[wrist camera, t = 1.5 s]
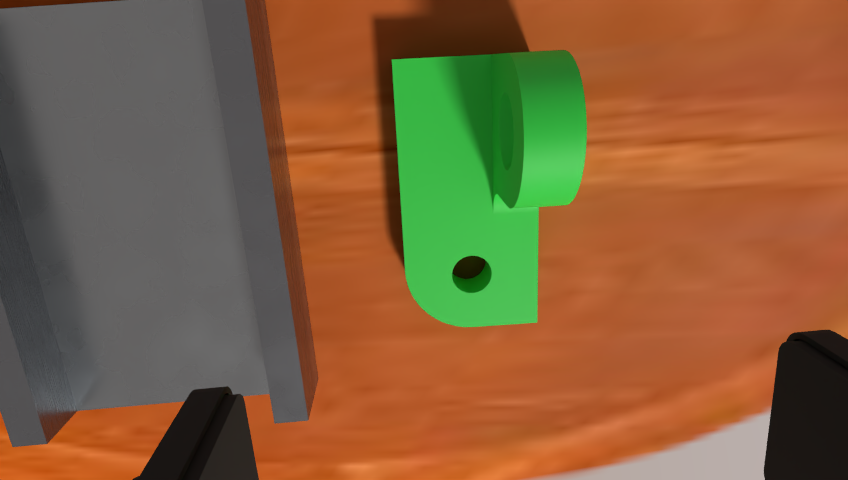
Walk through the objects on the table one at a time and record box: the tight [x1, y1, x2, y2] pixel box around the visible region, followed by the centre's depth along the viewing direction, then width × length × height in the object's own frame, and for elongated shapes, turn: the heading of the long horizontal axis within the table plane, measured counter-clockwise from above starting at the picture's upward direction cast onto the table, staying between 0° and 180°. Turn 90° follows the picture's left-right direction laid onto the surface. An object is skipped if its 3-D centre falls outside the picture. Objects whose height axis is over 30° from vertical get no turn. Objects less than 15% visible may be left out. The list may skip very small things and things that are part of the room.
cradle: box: [0, 0, 318, 447], centre depth 24 cm, size 13×18×4 cm
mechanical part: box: [392, 50, 587, 327], centre depth 23 cm, size 12×6×8 cm, turn 3°
